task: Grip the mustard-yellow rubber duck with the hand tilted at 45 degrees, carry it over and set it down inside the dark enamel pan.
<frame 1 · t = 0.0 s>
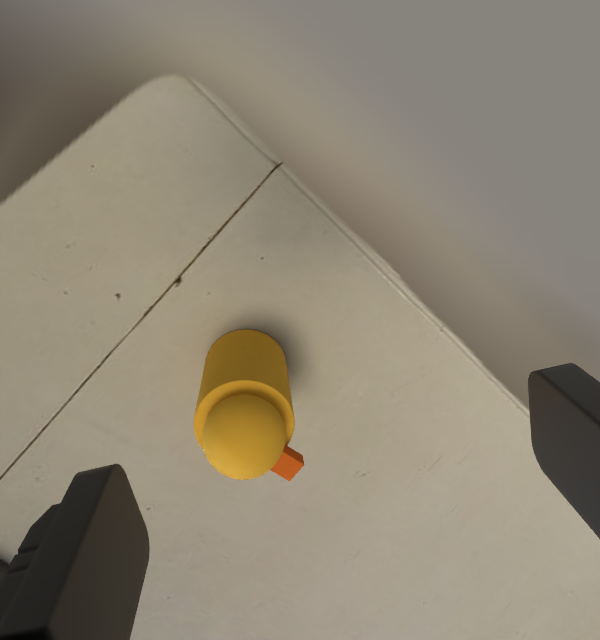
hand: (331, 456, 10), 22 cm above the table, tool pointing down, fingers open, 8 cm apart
rubber duck: (246, 366, 33), on the table
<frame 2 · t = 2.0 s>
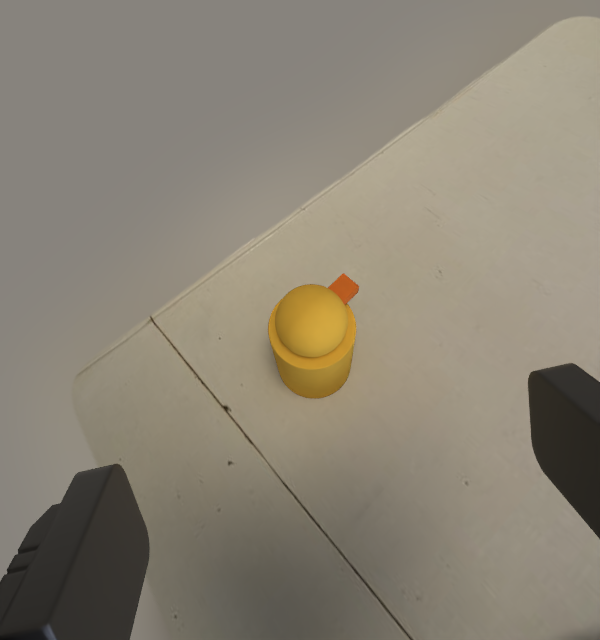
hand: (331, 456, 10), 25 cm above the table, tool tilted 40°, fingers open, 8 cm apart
rubber duck: (314, 362, 37), on the table
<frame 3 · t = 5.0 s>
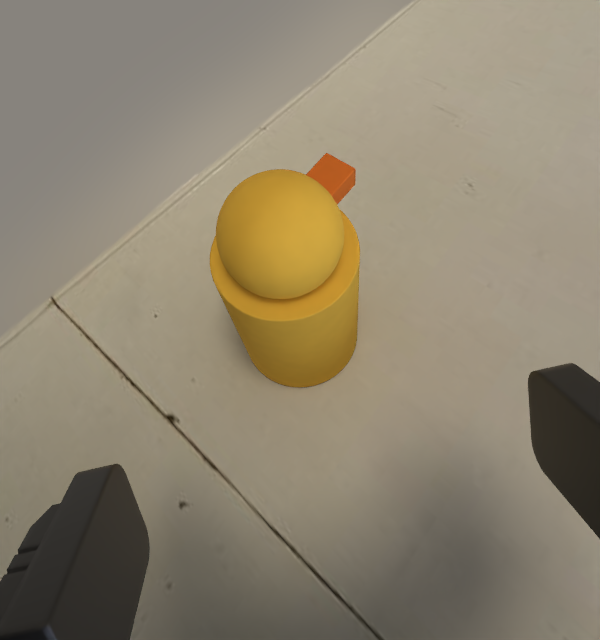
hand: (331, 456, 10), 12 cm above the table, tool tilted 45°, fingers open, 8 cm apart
rubber duck: (301, 334, 24), on the table
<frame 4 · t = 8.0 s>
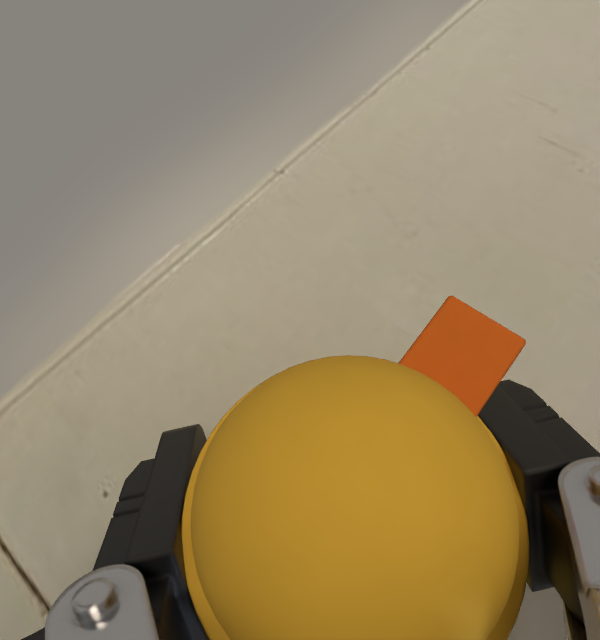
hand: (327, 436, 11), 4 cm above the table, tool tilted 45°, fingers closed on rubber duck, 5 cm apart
rubber duck: (349, 538, 14), on the table, touching gripper
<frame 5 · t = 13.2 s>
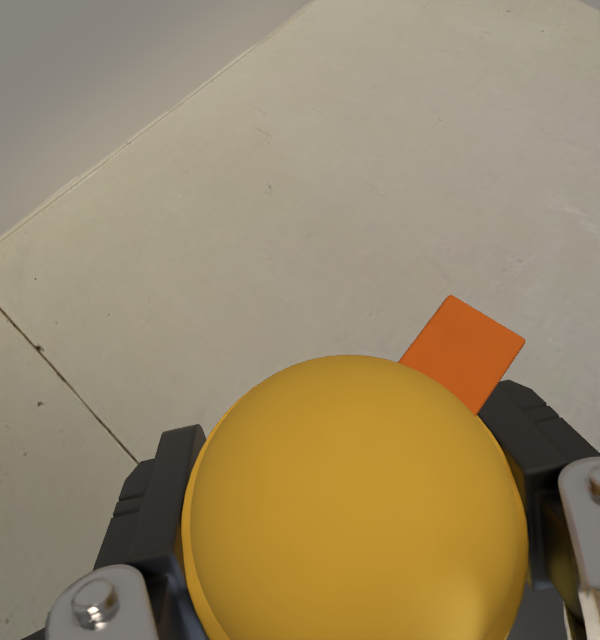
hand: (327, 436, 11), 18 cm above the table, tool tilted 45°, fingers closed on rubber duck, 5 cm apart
rubber duck: (349, 538, 14), point 14 cm above the table, touching gripper
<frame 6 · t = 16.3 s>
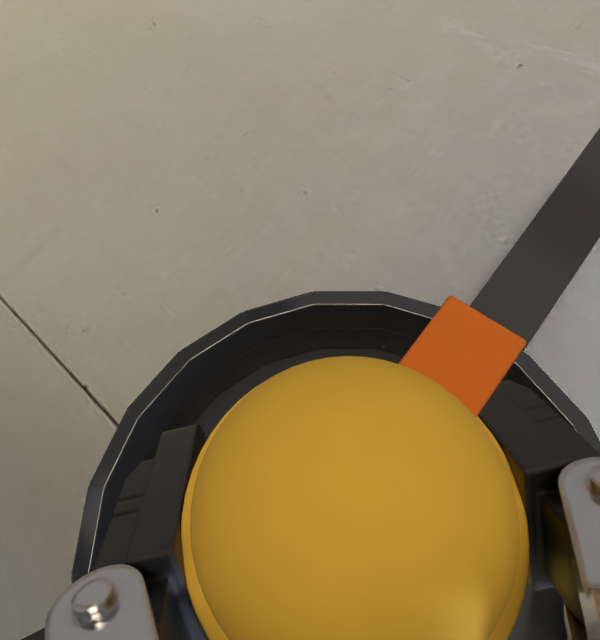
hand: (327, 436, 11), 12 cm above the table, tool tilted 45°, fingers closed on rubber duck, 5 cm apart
pan: (347, 544, 21), on the table
rubber duck: (349, 538, 14), point 8 cm above the table, touching gripper
pan handle: (561, 235, 21), point 3 cm above the table
when the fingers open (5 cm above the table, at t = 18.7 s): rubber duck stays where it is, resting on pan.
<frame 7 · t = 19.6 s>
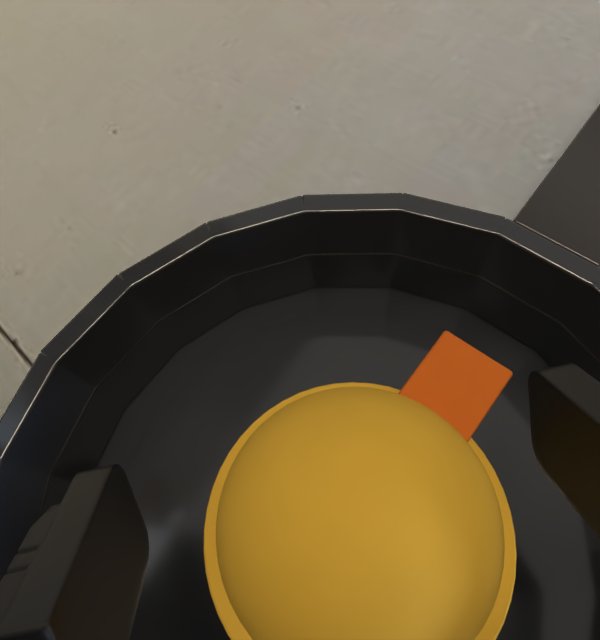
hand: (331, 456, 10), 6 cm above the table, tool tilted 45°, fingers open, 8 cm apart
pan: (351, 542, 16), on the table
rubber duck: (353, 544, 15), point 1 cm above the table, touching pan
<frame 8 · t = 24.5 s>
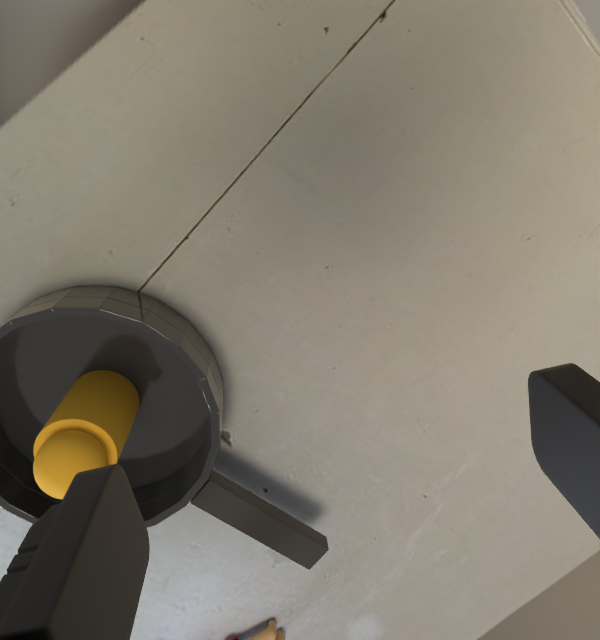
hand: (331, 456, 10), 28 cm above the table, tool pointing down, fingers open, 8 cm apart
pan: (107, 395, 40), on the table
rubber duck: (104, 400, 40), point 1 cm above the table, touching pan
pan handle: (261, 520, 40), point 3 cm above the table
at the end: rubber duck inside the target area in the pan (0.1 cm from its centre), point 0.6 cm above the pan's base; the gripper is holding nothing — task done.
